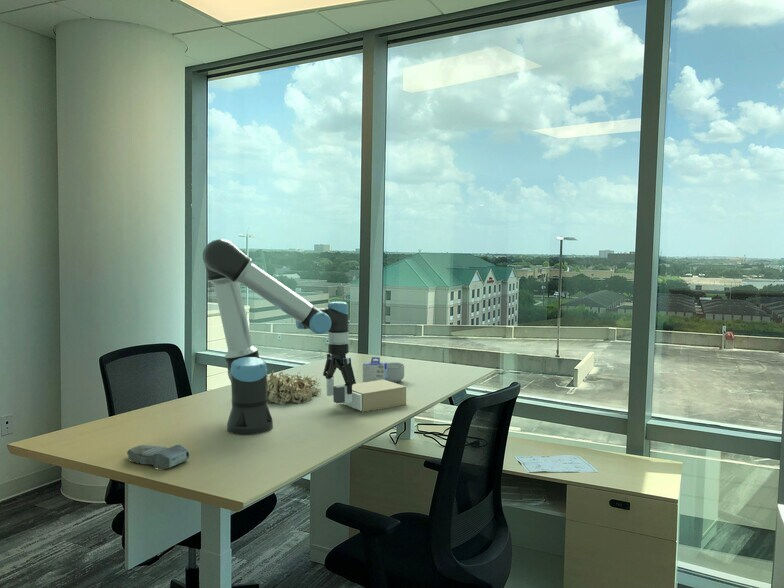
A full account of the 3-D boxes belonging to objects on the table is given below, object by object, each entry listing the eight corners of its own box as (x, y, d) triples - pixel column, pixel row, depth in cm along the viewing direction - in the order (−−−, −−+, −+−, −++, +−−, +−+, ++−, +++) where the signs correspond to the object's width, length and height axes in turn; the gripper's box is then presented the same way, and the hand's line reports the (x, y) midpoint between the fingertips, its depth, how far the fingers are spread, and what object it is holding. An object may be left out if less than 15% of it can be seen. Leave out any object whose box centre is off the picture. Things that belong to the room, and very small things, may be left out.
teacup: (409, 382, 277) (409, 365, 276) (389, 385, 271) (389, 367, 270) (391, 377, 288) (391, 360, 288) (372, 380, 282) (372, 362, 282)
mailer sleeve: (362, 412, 226) (362, 393, 226) (341, 403, 239) (341, 385, 239) (406, 404, 238) (406, 386, 237) (383, 396, 251) (383, 379, 250)
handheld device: (140, 452, 183) (140, 437, 183) (193, 461, 175) (192, 446, 175) (114, 462, 174) (114, 446, 174) (168, 473, 166) (167, 456, 166)
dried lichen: (299, 408, 233) (299, 379, 232) (232, 402, 243) (231, 374, 242) (329, 393, 258) (328, 366, 258) (267, 387, 268) (266, 362, 267)
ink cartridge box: (388, 390, 261) (387, 357, 260) (385, 393, 255) (385, 359, 254) (365, 389, 263) (365, 356, 262) (362, 392, 257) (362, 358, 256)
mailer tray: (346, 413, 222) (346, 390, 222) (325, 404, 235) (325, 383, 234) (404, 402, 237) (404, 381, 236) (381, 394, 250) (381, 374, 249)
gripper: (364, 346, 220) (365, 404, 221) (330, 338, 240) (331, 391, 242) (346, 348, 215) (347, 407, 217) (313, 339, 236) (314, 393, 237)
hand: (339, 398), depth 229 cm, fingers open, 13 cm apart
